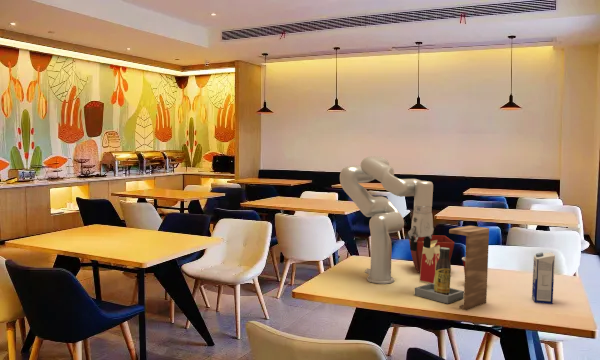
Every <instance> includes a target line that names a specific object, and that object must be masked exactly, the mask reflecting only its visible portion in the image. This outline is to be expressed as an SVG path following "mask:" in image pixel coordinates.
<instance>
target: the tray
mask: <svg viewBox="0 0 600 360" xmlns="http://www.w3.org/2000/svg"><path fill="white" fill-rule="evenodd" d="M434 291H435V290H434V284H433V283H430V284H427V283H425V284H424V285H421V286H420V285H419V286H416V287H414V292H413V293H414V296H418V297H421V298H424V299H425V298H426V299H429V300H432V301H436V302H439V303H442V304H447V305H448V304H451V303H454V302H457V301H460V300H462V299H463V300H464V290H461V289H457V288H453V287H450V292H449V295H444V294H440V293H436V292H434Z"/></svg>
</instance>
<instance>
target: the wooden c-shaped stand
mask: <svg viewBox="0 0 600 360" xmlns="http://www.w3.org/2000/svg"><path fill="white" fill-rule="evenodd" d="M448 233H449V234H453V235H461V236H465V254H464V255H465V256H464V257H465V273H464V285H463V286H464V289H463V291H464V298H463V304H461V305H459V308H458V309H460V310H463V311H468V310H469V311H470V310H471V309H475V308H477V307H480V306H483V305H485V304H487V292H488V291H487V290H488V269H489V241H490V228H489V227H482V226H477V225H476V226H475V225H465V226H460V227H459V226H458V227H455V228H450V229H449V230H448Z"/></svg>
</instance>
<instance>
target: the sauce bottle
mask: <svg viewBox="0 0 600 360" xmlns="http://www.w3.org/2000/svg"><path fill="white" fill-rule="evenodd" d="M439 251H440V257H439V260H438V261H437V264H436V271H435V284H434V290H435V291H434V292H436V293H440V294H444V295H449V292H450V288H451V274H452V263H451V260H450V261H449V252H450V249H449V248H444V247H441V248H440V250H439Z"/></svg>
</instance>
